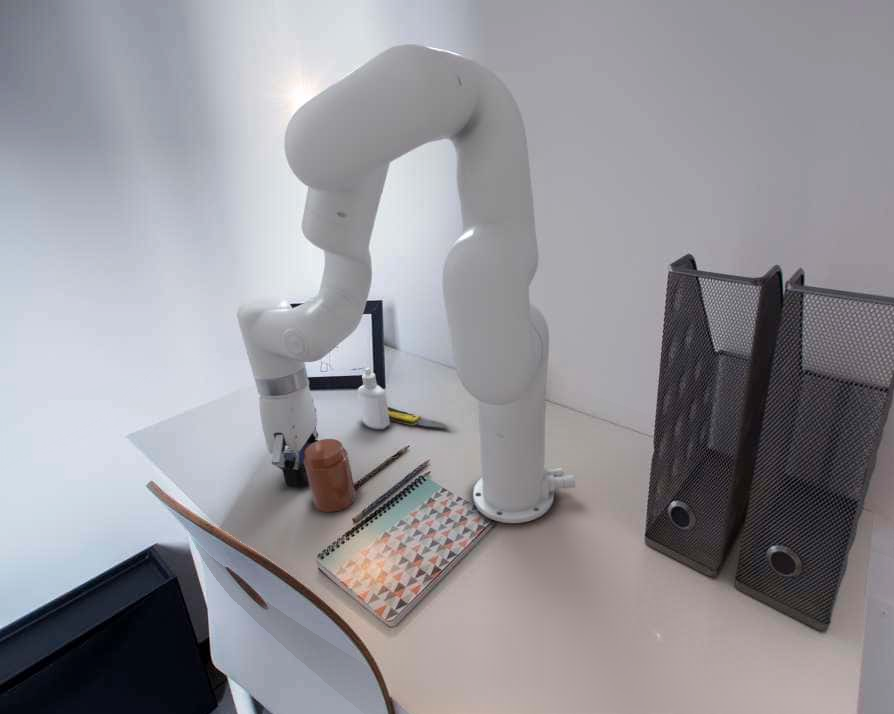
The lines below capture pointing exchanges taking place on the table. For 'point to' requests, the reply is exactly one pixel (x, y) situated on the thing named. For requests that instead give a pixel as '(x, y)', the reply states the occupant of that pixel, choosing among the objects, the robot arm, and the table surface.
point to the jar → (329, 475)
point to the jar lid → (301, 456)
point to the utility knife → (412, 419)
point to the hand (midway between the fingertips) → (305, 471)
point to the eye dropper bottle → (373, 402)
